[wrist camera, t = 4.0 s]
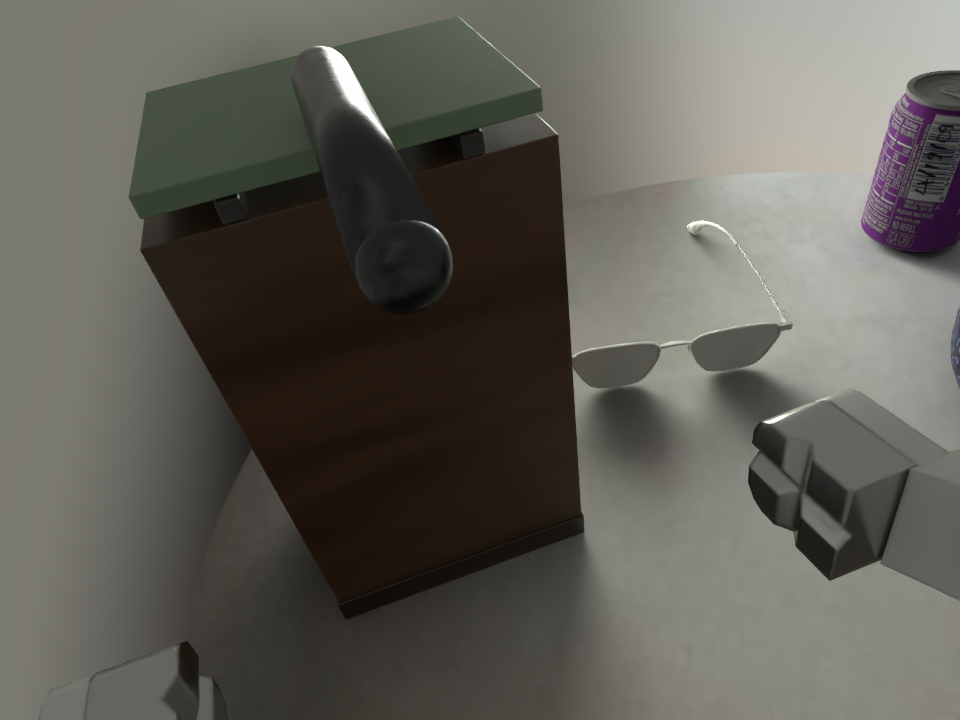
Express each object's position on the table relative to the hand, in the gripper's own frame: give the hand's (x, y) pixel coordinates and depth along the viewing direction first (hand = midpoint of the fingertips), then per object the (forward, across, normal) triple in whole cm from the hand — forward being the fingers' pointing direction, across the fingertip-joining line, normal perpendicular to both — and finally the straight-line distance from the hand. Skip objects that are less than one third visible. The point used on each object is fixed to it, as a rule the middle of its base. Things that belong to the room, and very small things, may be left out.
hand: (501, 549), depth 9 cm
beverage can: (+31, -45, +21) cm, 59 cm away
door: (+15, -1, -1) cm, 15 cm away
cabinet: (+23, -2, +23) cm, 33 cm away
